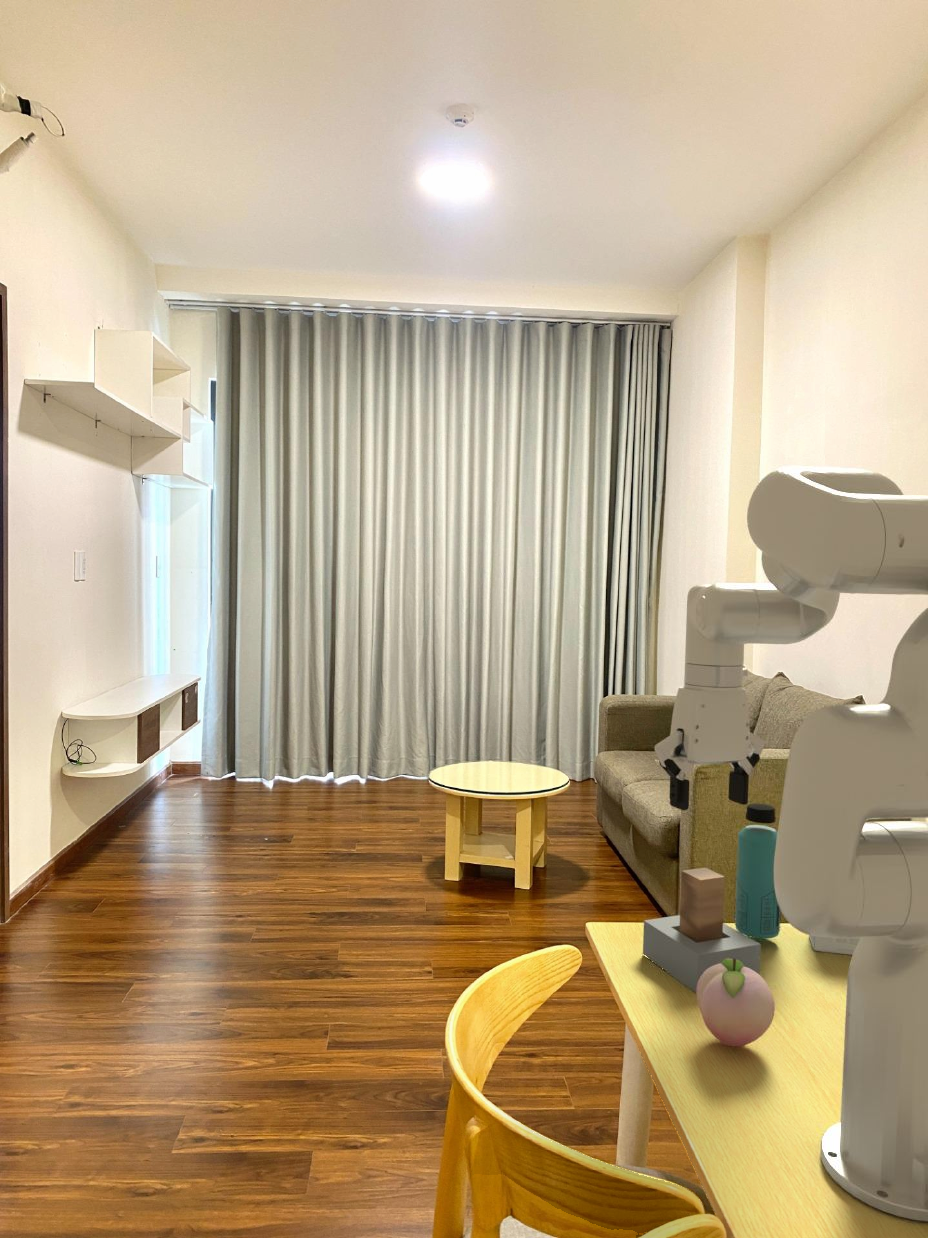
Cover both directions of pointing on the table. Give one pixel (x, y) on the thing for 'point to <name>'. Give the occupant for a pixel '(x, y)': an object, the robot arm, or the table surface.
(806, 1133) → the table surface
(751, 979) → the decorative fruit
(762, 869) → the beverage bottle
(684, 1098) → the table surface
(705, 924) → the walnut peg
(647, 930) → the socket block
